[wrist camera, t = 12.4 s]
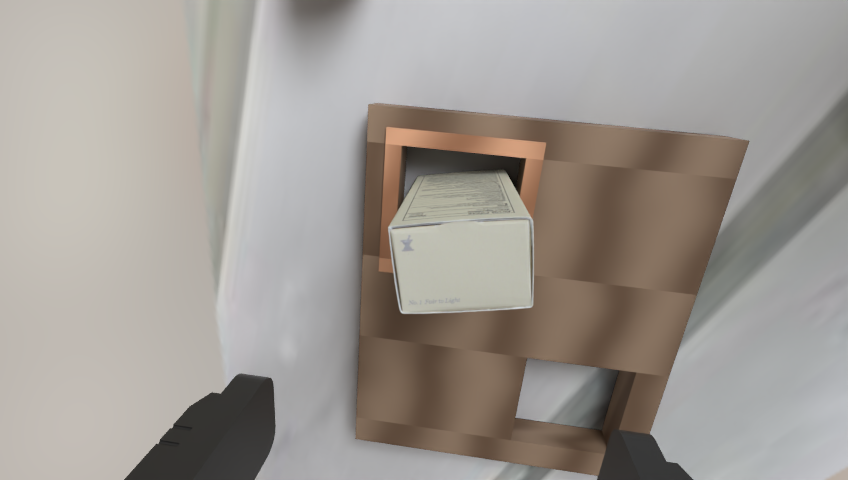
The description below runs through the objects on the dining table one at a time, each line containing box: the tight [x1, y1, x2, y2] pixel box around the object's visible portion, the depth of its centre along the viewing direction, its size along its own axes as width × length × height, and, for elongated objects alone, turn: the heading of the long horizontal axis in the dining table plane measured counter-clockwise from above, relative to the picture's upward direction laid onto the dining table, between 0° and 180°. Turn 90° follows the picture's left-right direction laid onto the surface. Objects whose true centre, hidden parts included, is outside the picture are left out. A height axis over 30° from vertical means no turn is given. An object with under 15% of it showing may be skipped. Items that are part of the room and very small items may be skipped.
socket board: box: [355, 103, 749, 476], centre depth 31 cm, size 22×26×3 cm
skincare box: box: [388, 170, 534, 314], centre depth 24 cm, size 6×4×12 cm
